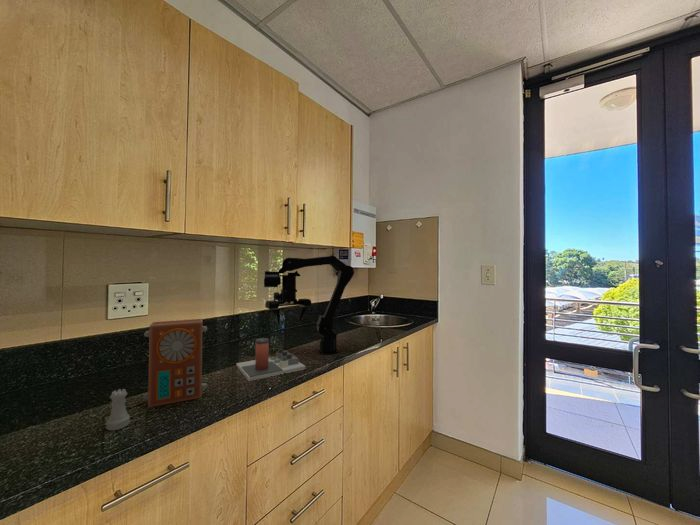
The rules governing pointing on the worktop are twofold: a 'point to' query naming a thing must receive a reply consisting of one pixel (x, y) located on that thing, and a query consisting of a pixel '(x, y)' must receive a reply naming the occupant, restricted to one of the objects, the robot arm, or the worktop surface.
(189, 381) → the control panel
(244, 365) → the breaker board
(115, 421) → the rook chess piece
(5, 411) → the worktop surface
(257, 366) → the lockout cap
